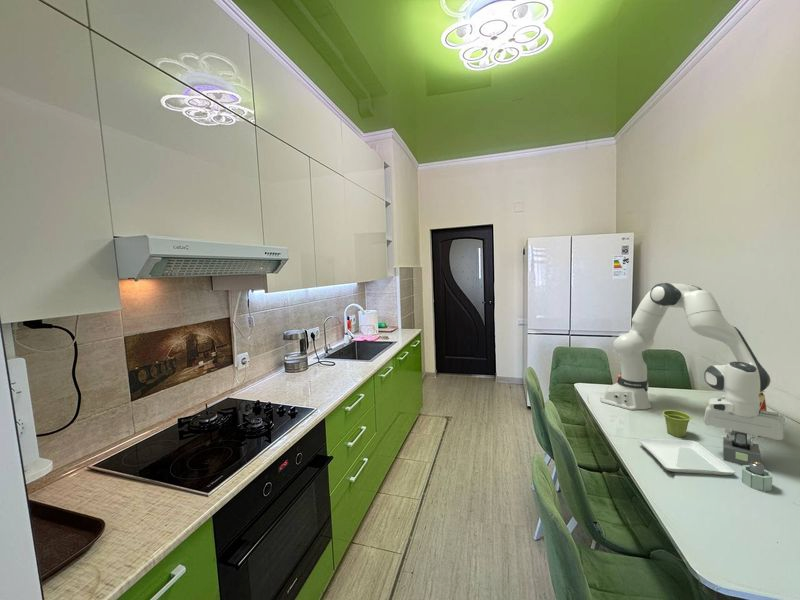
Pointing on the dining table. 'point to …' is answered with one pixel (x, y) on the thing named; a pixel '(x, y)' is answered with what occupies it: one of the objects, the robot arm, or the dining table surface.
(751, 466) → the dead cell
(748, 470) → the cup
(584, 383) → the dining table surface
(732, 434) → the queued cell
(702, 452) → the salad plate
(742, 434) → the cell
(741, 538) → the dining table surface
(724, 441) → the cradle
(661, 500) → the dining table surface
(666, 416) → the plant pot
